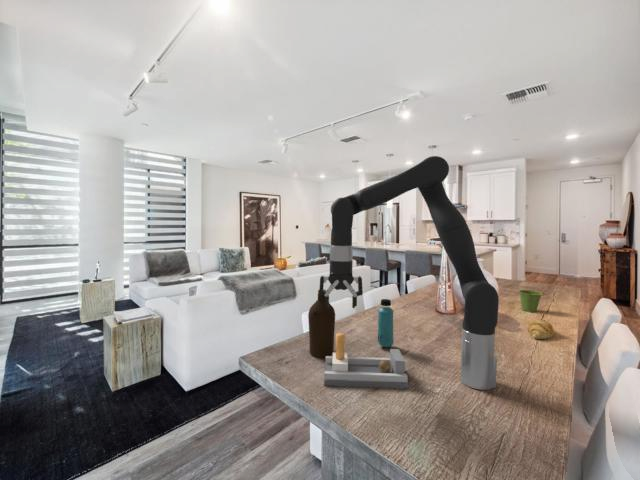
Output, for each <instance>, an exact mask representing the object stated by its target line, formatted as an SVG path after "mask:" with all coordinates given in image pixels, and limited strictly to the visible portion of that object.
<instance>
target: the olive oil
mask: <svg viewBox="0 0 640 480" xmlns="http://www.w3.org/2000/svg"><path fill="white" fill-rule="evenodd" d="M323 290H324V291H326V290H327V289H324V288H323ZM307 316H308V334H309V335H308V336H309V339H308V340H309V354H310V355H311V356H312V357H315V358H326V356H333V352H334V349H335V348H334V346H335V329H336V328H335V325H336V310H335V309H334V306H333V305H332V304H331V303H330V302H329V308H327V306H325V296H324V295H320V294H319V289H318V290H317V299H316V301H315V302H314V303H313V304H312V305H311V306H310V308H309V310H308V314H307Z"/></svg>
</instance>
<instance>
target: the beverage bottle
mask: <svg viewBox="0 0 640 480" xmlns="http://www.w3.org/2000/svg"><path fill="white" fill-rule="evenodd" d="M380 305H381V307H379V308H378V309H377V312H378V313H377V317H378V318H377V344H378V345H379V346H381V347H384V348H385V347H386V348H387V347H388V348H389V347H393V344H394V335H395V334H394V310H393V309H392V307H390V306H391V305H392V302H391V300H390V299H388V298H383V299H381V300H380Z"/></svg>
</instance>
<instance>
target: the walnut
mask: <svg viewBox="0 0 640 480" xmlns="http://www.w3.org/2000/svg"><path fill="white" fill-rule="evenodd" d="M379 369H380V370H381V371H382V372H384V373H387V372H389V371H390V369H391V364H390V362H389V361H387V360H382V361H380V363H379Z"/></svg>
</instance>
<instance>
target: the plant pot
mask: <svg viewBox="0 0 640 480" xmlns="http://www.w3.org/2000/svg"><path fill="white" fill-rule="evenodd" d="M518 292H519V296H520V306H521V310H522V311H525V312H527V313H536V312H537V311H538V308H539V304H540V299H541V298H542V295H543V293H542V292H540V291H535V290H529V289H528V290H527V289H520V290H518Z"/></svg>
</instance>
